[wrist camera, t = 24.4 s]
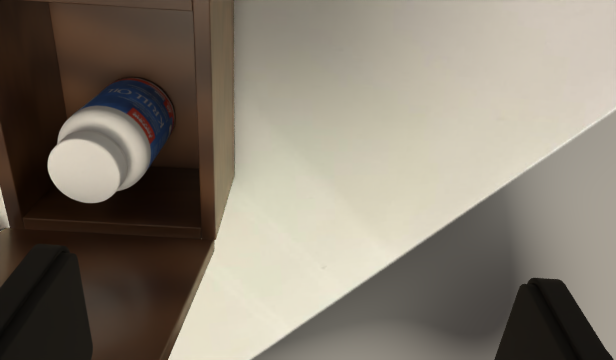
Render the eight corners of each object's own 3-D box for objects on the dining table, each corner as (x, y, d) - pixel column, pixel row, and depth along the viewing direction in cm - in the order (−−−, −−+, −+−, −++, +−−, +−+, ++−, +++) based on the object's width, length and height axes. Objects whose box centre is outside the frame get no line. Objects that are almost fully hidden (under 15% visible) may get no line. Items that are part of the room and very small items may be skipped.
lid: (-259, 396, 17) (-219, 544, 19) (135, 416, 17) (140, 559, 19) (5, 227, 32) (14, 317, 34) (214, 239, 32) (213, 328, 34)
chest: (34, -40, 34) (-52, -23, 26) (233, -27, 34) (209, -6, 26) (69, 166, 40) (10, 229, 33) (234, 176, 41) (215, 241, 33)
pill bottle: (189, 102, 37) (152, 162, 28) (156, 159, 39) (111, 231, 30) (118, 59, 36) (55, 109, 27) (87, 121, 38) (20, 185, 29)
